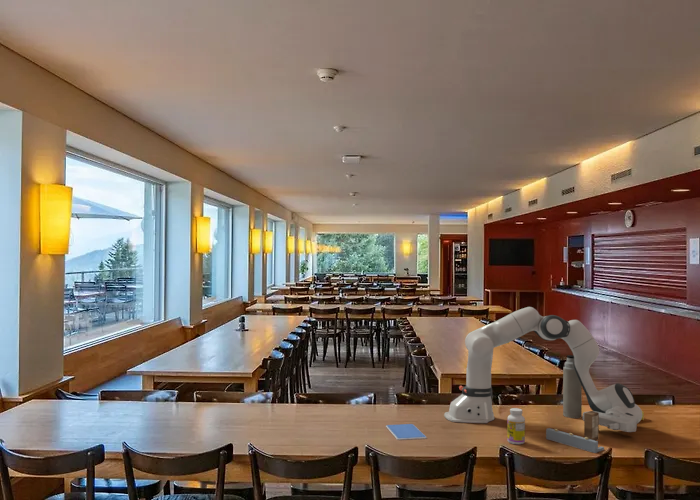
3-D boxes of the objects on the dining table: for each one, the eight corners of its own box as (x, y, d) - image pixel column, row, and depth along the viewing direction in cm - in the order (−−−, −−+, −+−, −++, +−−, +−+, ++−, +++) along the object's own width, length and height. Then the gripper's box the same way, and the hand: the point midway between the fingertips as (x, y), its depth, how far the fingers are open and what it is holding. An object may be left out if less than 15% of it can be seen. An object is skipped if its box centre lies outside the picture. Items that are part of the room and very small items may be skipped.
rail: (595, 453, 211) (595, 440, 211) (546, 438, 228) (546, 427, 228) (604, 450, 215) (604, 437, 215) (555, 436, 232) (555, 424, 232)
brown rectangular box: (591, 442, 224) (591, 414, 224) (584, 440, 226) (584, 413, 226) (598, 440, 227) (598, 412, 227) (591, 438, 230) (591, 410, 230)
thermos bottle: (561, 413, 268) (561, 354, 269) (578, 414, 267) (578, 354, 268) (565, 418, 260) (565, 356, 261) (583, 418, 259) (583, 357, 260)
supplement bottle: (504, 439, 226) (504, 407, 227) (520, 439, 227) (520, 407, 227) (510, 445, 220) (511, 411, 220) (527, 444, 220) (527, 411, 221)
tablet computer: (427, 440, 227) (427, 436, 227) (397, 441, 224) (397, 438, 224) (413, 426, 246) (413, 423, 246) (385, 427, 243) (385, 424, 243)
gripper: (592, 406, 247) (574, 410, 238) (640, 416, 230) (622, 421, 222) (592, 420, 246) (574, 425, 238) (639, 432, 230) (622, 438, 222)
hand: (597, 423), depth 230 cm, fingers open, 8 cm apart
